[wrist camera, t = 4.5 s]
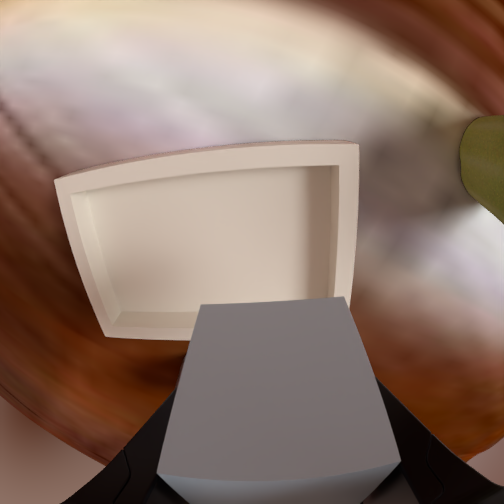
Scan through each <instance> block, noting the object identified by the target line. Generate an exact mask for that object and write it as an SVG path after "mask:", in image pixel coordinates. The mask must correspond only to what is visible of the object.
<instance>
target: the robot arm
mask: <svg viewBox="0 0 504 504" xmlns="http://www.w3.org/2000/svg"><path fill="white" fill-rule="evenodd" d="M375 379H376V382H377V385H378V388H379V391H380V394H381V397H382V400H383V403H384V406H385V409H386V412H387V415H388V418H389V421H390V425H391V428H392V431H393V434H394V438H395V441H396V445H397V448H398V452H399V455H400V459H401V462H400V463H399V464H398V465H397V466H396V467H395V468H394V470H393V471H392V472H391V473H390V474H389V475H388V476H387V477H386V478H385V479H384V480H383V481H382V482H381V483H380V485H379V486H378V487H377V488H376V489H375V490H374V491H373V492H372V493H371V494H370V495H368V496H367V497H366V498H365V499H364V500H363V501H362V502H361V503H360V504H504V486H500V485H497V484H495V483H493V482H491V481H490V480H488V479H487V478H486V477H484V476H483V475H481V474H480V473H479V472H477V471H476V470H475V469H473V468H472V467H470V466H469V465H468V464H466V463H465V462H464V461H463V460H461V459H460V458H459V457H458V456H456V455H455V454H454V453H453V452H451V451H450V450H449V449H448V448H447V447H446V446H445V445H444V444H443V443H442V442H441V441H440V440H439V439H438V438H437V437H436V436H435V435H434V434H432V435H431V432H430V431H429V430H428V429H427V428H426V427H425V426H424V425H423V424H422V423H421V422H420V421H419V420H418V419H417V418H416V417H415V416H414V415H413V414H412V413H411V412H410V411H409V410H408V409H407V408H406V407H405V406H404V405H403V404H402V403H401V402H400V401H399V400H398V399H397V398H396V397H395V396H394V395H393V394H392V393H391V392H390V391H389V390H388V389H387V388H386V387H385V386H384V385H383V384H382V383H381V382H380V381H379V380H378V379H377V378H376V377H375ZM177 388H178V386H177V387H176V388H175V390H174V391H173V392H172V393H171V394H170V395H169V397H168V398H167V399H166V400H165V401H164V402H163V404H162V405H161V406H160V407H159V408H158V409H157V410H156V412H155V413H154V414H153V415H152V416H151V417H150V419H149V420H148V421H147V422H146V423H145V424H144V425H143V426H142V428H141V429H140V430H139V431H138V432H137V433H136V434H135V436H134V437H133V438H132V439H131V440H130V441H129V442H128V443H127V445H126V446H125V447H124V450H121V451H120V452H119V453H118V454H117V455H116V457H115V458H114V459H113V460H112V461H111V462H110V463H109V464H108V465H107V466H106V467H105V468H104V469H103V470H102V471H101V472H100V473H98V474H97V475H96V476H95V477H94V478H93V479H92V480H90V481H89V482H88V483H87V484H86V485H84V486H83V487H82V488H81V489H79V490H78V491H77V492H76V493H74V494H73V495H72V496H71V497H69V498H68V499H67V500H65V501H64V502H62V503H60V504H190V503H188V502H187V501H186V500H185V499H184V498H183V497H182V496H180V495H179V494H178V493H177V492H176V491H175V490H174V489H173V488H172V487H171V486H169V485H168V484H167V483H166V482H165V481H164V480H163V479H162V478H161V477H160V476H159V475H158V474H157V469H158V464H159V460H160V456H161V452H162V447H163V443H164V439H165V435H166V431H167V427H168V423H169V419H170V415H171V411H172V407H173V403H174V399H175V395H176V392H177Z"/></svg>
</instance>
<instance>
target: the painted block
mask: <svg viewBox="0 0 504 504" xmlns="http://www.w3.org/2000/svg"><path fill="white" fill-rule="evenodd" d="M400 462H401V459H400V455H399V452H398V448H397V445H396V441H395V438H394V434H393V431H392V428H391V425H390V421H389V418H388V415H387V412H386V409H385V406H384V403H383V400H382V397H381V394H380V391H379V388H378V385H377V382H376V379H375V376H374V373H373V370H372V368H371V365H370V362H369V359H368V357H367V354H366V351H365V349H364V346H363V343H362V341H361V338H360V335H359V333H358V330H357V328H356V325H355V323H354V320H353V317H352V315H351V312H350V310H349V308H348V305H347V303H346V300H345V298H344V296H342V297H330V298H317V299H304V300H289V301H272V302H253V303H229V304H201V305H200V309H199V312H198V316H197V319H196V323H195V326H194V330H193V333H192V337H191V340H190V344H189V347H188V351H187V355H186V358H185V362H184V365H183V369H182V373H181V377H180V380H179V384H178V388H177V392H176V395H175V399H174V403H173V407H172V411H171V415H170V419H169V423H168V427H167V431H166V435H165V439H164V443H163V447H162V452H161V456H160V460H159V464H158V469H157V474H158V475H159V476H160V477H161V478H162V479H163V480H164V481H165V482H166V483H167V484H168V485H169V486H171V487H172V488H173V489H174V490H175V491H176V492H177V493H178V494H179V495H180V496H182V497H183V498H184V499H185V500H186V501H187V502H188V503H190V504H360V503H361V502H362V501H363V500H364V499H365V498H366V497H367V496H368V495H370V494H371V493H372V492H373V491H374V490H375V489H376V488H377V487H378V486H379V485H380V483H381V482H382V481H383V480H384V479H385V478H386V477H387V476H388V475H389V474H390V473H391V472H392V471H393V470H394V468H395V467H396V466H397V465H398V464H399V463H400Z"/></svg>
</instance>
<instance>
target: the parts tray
mask: <svg viewBox="0 0 504 504" xmlns="http://www.w3.org/2000/svg"><path fill="white" fill-rule="evenodd" d="M54 182H55V187H56V192H57V196H58V201H59V205H60V209H61V213H62V217H63V221H64V225H65V228H66V232H67V235H68V239H69V242H70V245H71V249H72V252H73V255H74V258H75V261H76V264H77V267H78V270H79V273H80V276H81V279H82V281H83V284H84V287H85V289H86V292H87V295H88V297H89V300H90V302H91V305H92V307H93V310H94V312H95V314H96V317H97V319H98V321H99V324H100V326H101V328H102V330H103V333H104V335H105V337H117V338H133V339H155V340H191V337H192V333H193V330H194V326H195V323H196V319H197V316H198V312H199V309H200V305H201V304H229V303H253V302H272V301H289V300H304V299H317V298H330V297H342V296H344V298H345V300H346V303H347V305H348V308H349V306H350V298H351V290H352V281H353V272H354V261H355V250H356V237H357V221H358V199H359V144H356V143H352V142H349V141H345V140H302V141H276V142H259V143H245V144H233V145H223V146H213V147H204V148H196V149H188V150H181V151H174V152H167V153H161V154H155V155H149V156H143V157H138V158H132V159H127V160H122V161H117V162H112V163H108V164H103V165H99V166H94V167H90V168H86V169H82V170H78V171H75V172H72V173H70V174H67V175H65V176H62V177H60V178H58V179H55V180H54Z"/></svg>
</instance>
